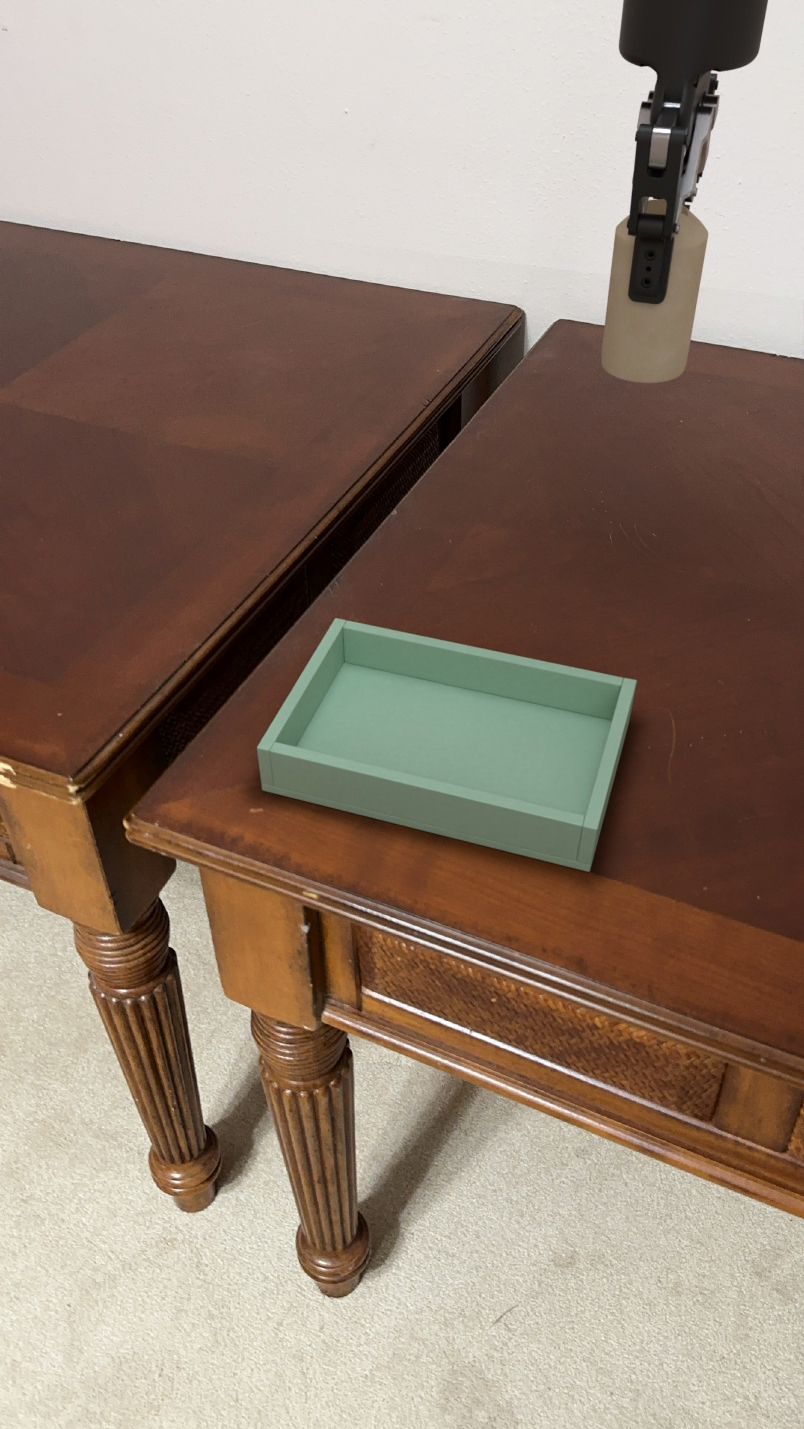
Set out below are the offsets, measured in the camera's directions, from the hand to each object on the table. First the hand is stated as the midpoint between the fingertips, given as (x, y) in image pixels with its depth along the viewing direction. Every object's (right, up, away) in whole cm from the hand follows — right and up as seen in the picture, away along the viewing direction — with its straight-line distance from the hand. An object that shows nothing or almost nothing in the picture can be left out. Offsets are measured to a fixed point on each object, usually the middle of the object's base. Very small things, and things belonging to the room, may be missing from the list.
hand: (654, 281), depth 68 cm
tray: (-13, -29, -1) cm, 32 cm away
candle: (0, -4, +4) cm, 6 cm away
